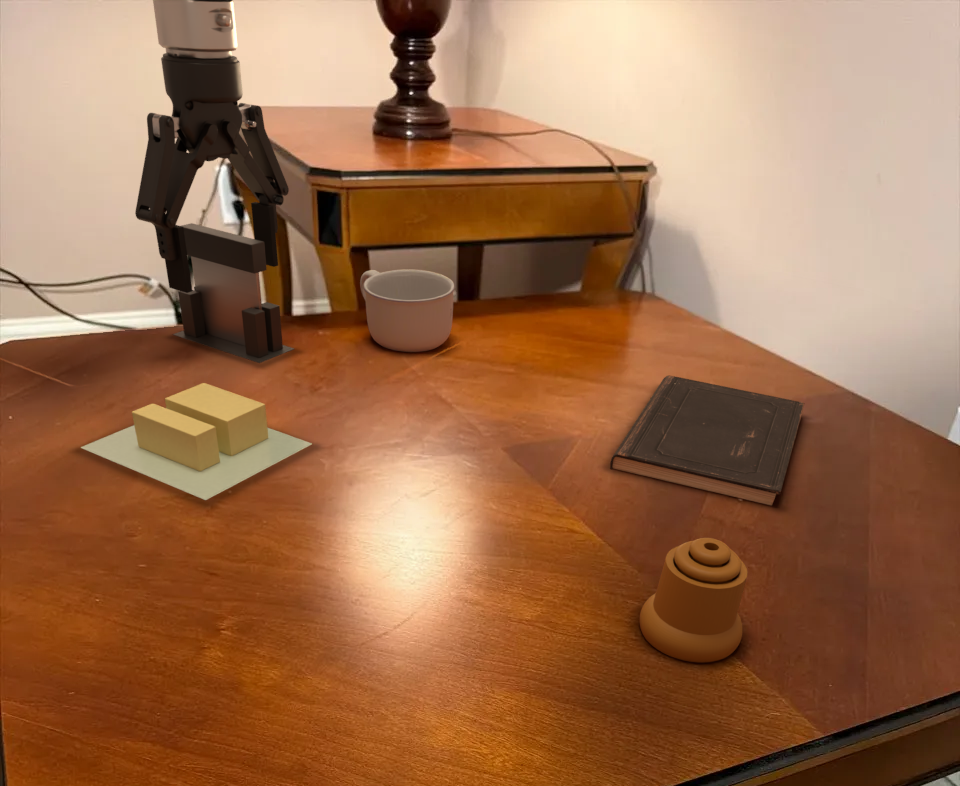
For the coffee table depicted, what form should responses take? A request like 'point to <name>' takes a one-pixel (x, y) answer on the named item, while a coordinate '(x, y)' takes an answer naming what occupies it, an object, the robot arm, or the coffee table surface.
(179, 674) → the coffee table surface
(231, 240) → the dough scraper
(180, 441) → the butter pat
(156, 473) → the butter dish
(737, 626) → the ornamental finial
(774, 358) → the coffee table surface
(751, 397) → the hardcover book
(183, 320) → the stand
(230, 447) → the butter block
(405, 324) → the teacup
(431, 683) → the coffee table surface
